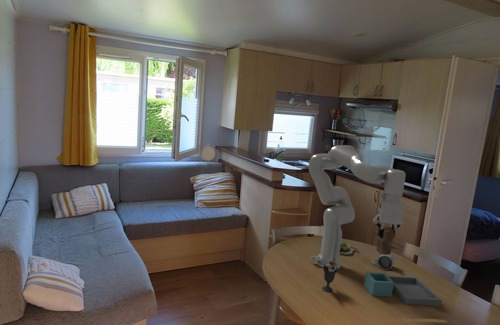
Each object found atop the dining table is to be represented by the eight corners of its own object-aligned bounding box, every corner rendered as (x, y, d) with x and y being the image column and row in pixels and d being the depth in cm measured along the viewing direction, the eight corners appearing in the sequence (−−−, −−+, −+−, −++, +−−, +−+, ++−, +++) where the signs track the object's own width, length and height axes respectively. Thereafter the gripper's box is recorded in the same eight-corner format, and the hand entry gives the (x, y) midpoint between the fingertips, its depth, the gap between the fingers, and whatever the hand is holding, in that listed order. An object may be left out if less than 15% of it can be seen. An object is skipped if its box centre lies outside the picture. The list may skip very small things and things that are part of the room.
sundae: (335, 287, 160) (339, 257, 158) (334, 294, 154) (338, 263, 151) (321, 284, 162) (325, 254, 160) (319, 291, 156) (323, 259, 153)
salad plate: (357, 247, 211) (358, 240, 211) (357, 258, 195) (358, 251, 194) (325, 241, 217) (326, 234, 216) (322, 251, 200) (323, 244, 199)
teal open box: (371, 297, 154) (374, 282, 153) (363, 286, 163) (366, 272, 162) (391, 298, 155) (393, 282, 154) (382, 287, 164) (384, 272, 163)
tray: (404, 305, 150) (406, 298, 149) (384, 282, 170) (385, 275, 169) (440, 307, 151) (441, 299, 151) (415, 283, 171) (416, 276, 170)
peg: (380, 254, 154) (384, 229, 152) (376, 250, 158) (380, 226, 156) (390, 254, 154) (394, 230, 152) (385, 250, 158) (389, 226, 156)
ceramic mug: (393, 266, 188) (395, 252, 187) (391, 271, 181) (393, 258, 180) (373, 260, 194) (375, 247, 192) (370, 265, 187) (372, 252, 185)
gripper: (377, 199, 147) (371, 239, 150) (415, 201, 149) (408, 241, 152) (370, 194, 155) (364, 233, 158) (406, 196, 156) (399, 235, 159)
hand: (385, 237), depth 155 cm, fingers closed on peg, 4 cm apart
